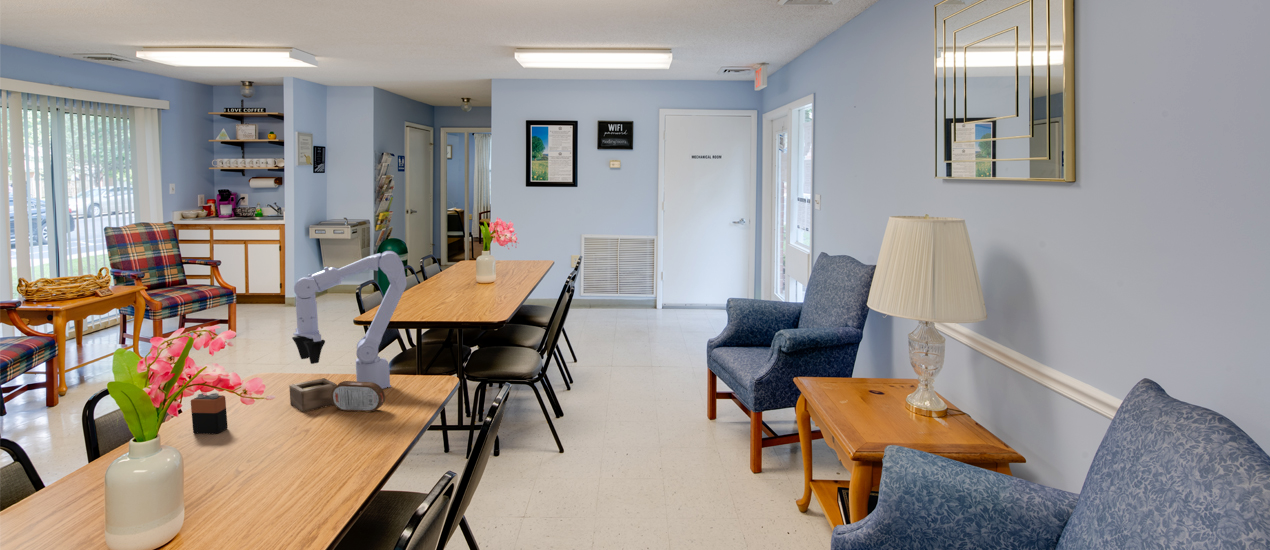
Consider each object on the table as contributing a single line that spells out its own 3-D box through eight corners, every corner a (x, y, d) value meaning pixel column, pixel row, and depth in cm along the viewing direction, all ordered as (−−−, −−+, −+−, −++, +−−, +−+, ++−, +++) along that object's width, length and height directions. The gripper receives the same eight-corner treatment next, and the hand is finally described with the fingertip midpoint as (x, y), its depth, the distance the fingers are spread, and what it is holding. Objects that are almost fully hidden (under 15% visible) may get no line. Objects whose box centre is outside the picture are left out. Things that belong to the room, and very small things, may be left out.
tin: (386, 410, 196) (384, 381, 195) (381, 413, 193) (379, 384, 192) (336, 408, 198) (334, 379, 197) (330, 411, 195) (328, 382, 194)
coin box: (325, 397, 207) (324, 378, 206) (337, 404, 201) (336, 384, 200) (290, 404, 200) (289, 384, 199) (302, 412, 194) (301, 391, 193)
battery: (218, 434, 177) (215, 397, 175) (192, 433, 177) (189, 396, 175) (228, 428, 181) (225, 391, 180) (203, 427, 181) (200, 391, 180)
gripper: (284, 315, 209) (287, 358, 211) (302, 322, 200) (305, 367, 201) (308, 312, 215) (310, 354, 216) (327, 319, 205) (329, 363, 206)
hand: (309, 360), depth 209 cm, fingers open, 7 cm apart
